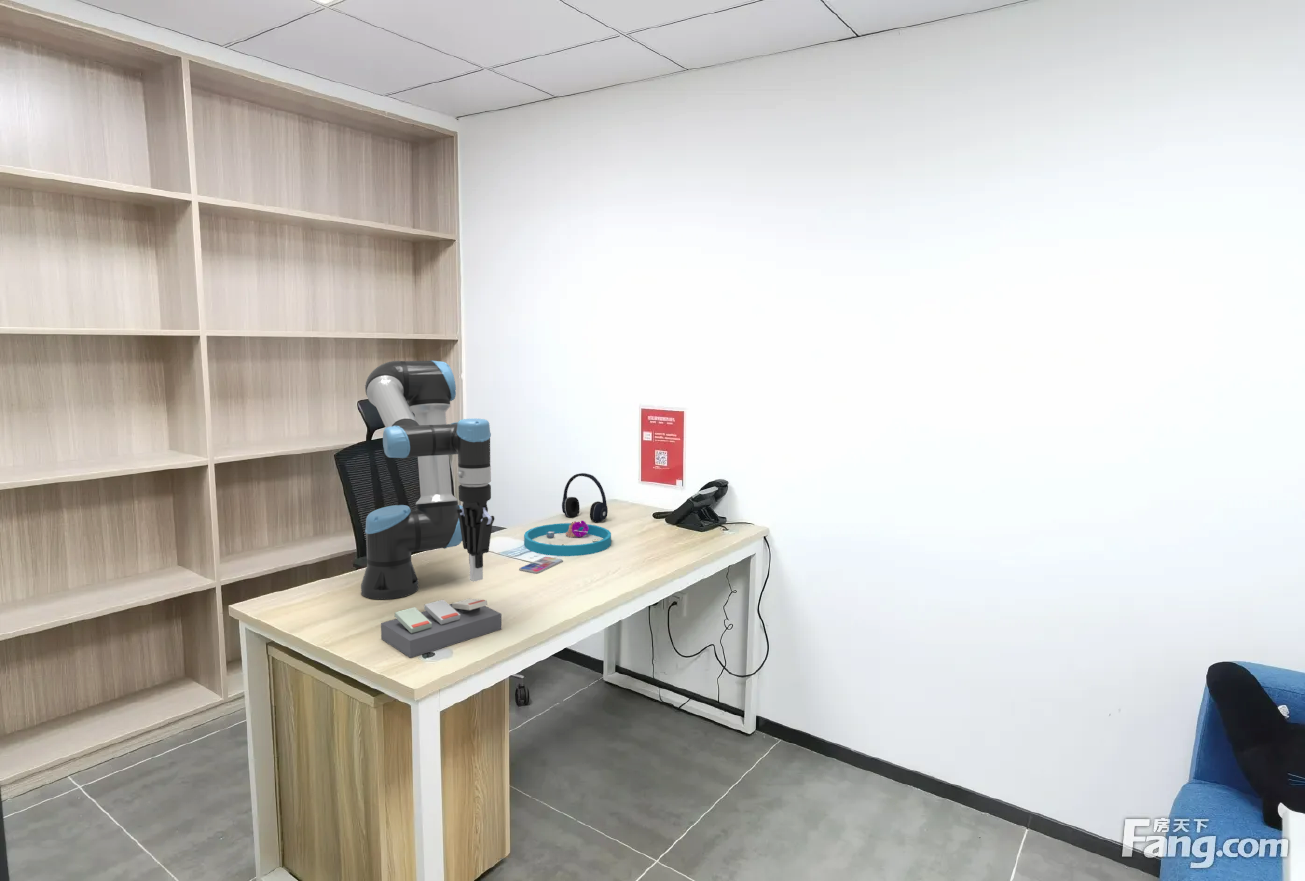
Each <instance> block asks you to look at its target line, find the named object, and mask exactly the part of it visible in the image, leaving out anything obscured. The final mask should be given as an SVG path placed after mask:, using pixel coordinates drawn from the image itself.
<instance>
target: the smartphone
mask: <svg viewBox="0 0 1305 881" xmlns="http://www.w3.org/2000/svg"><path fill="white" fill-rule="evenodd" d="M563 562H564V560H563V559H560V558H555V557H550V556H543V557H542V558H541V557H540V558H539V559H537V560H535V561H532V562H530V563H527V564H525V565H523V566H521V567H519V569H518V571H520V572H524V573H529V574H534V575H535V574H536V575H537V574H540V573H543V572H545V571H547V570H548V569H551V568H553V567H555V566H557V565H560V564H562V563H563Z"/></svg>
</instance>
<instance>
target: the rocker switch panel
mask: <svg viewBox="0 0 1305 881" xmlns="http://www.w3.org/2000/svg"><path fill="white" fill-rule="evenodd" d="M448 604H449V605H450V606H451V607H452V603H448ZM452 608H453V607H452ZM453 609H455V610H456V611H457V612H458V613H459V614H460V619H459V620H455V621H452V622H449V623H445V624H442V625H441V624H440V623H439V622H438V621H437V620H436V619H435V618H433V617H432V616H431V615H430V614H429V613H428V612H427V611H426V610H423V611H420V612H421V613H422V614H423V615H424V616H425V617H426V618H427V619H428V620H429V621H430V622H431V623H432V626H431V628H428V629H425V630H421V631H418V632H414V633H410V632H409V631H408V630H407V629H406V628H405V627H404V626H403V625H402V624H401V623H400V622H399V621H398V620H397V619H396V618H394V619H390V620H386V621H384V622H381V623H380V634H381V635H380V637H381V638H380V640H382V641H383V642H385V643H387V645H390V646H392V648H394V649H396V650H398V651H399V652H400V653H403V655H405V656H406V657H408V658H411V659H412V658H414V657H418V656H421V655H424V654H427V653H430V652H434V651H436V650H441V649H444V648H447V647H449V646H453V645H455V644H459V643H462V642H465V641H468V640H472V639H474V638H477V637H478V638H479V637H481V636H483V635H487V634H490V633H493V632H496V631H500V630H502V613H501V612H499V611H497V610H495V609H493V608H491V607H488V605H486V606H483V607H479V608H476V609H472V610H464V609H456V608H453Z"/></svg>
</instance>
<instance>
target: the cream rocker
mask: <svg viewBox="0 0 1305 881" xmlns="http://www.w3.org/2000/svg"><path fill="white" fill-rule="evenodd" d="M451 604H452V607H453V608H456V609H464V610H472V609H476V608H479V607H483V606H488V600H487V599H479V598H478V599H477V598H471V597H470V598H467V599H462V600H459V601H456V602H452V603H451Z"/></svg>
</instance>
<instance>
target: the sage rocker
mask: <svg viewBox="0 0 1305 881" xmlns="http://www.w3.org/2000/svg"><path fill="white" fill-rule="evenodd" d="M421 612H422V611H420V610H418V608H417V607H415V606H413V607H409V608H406V609H403V610H399V611H398V610H397V611H395V612H394V617H395V618H394V619H397V620H398V621H399V622H400V623H401V624H402V625H403V626H404V627H405V628H406V629H407V630H408V631H409V632H410V633H414V632H418V631H421V630H425V629H428V628H431V626H432V623H431V622H430V621H429V620H428V619H427V618H426V617H425V616H424V615H423V614H422V613H421Z"/></svg>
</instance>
